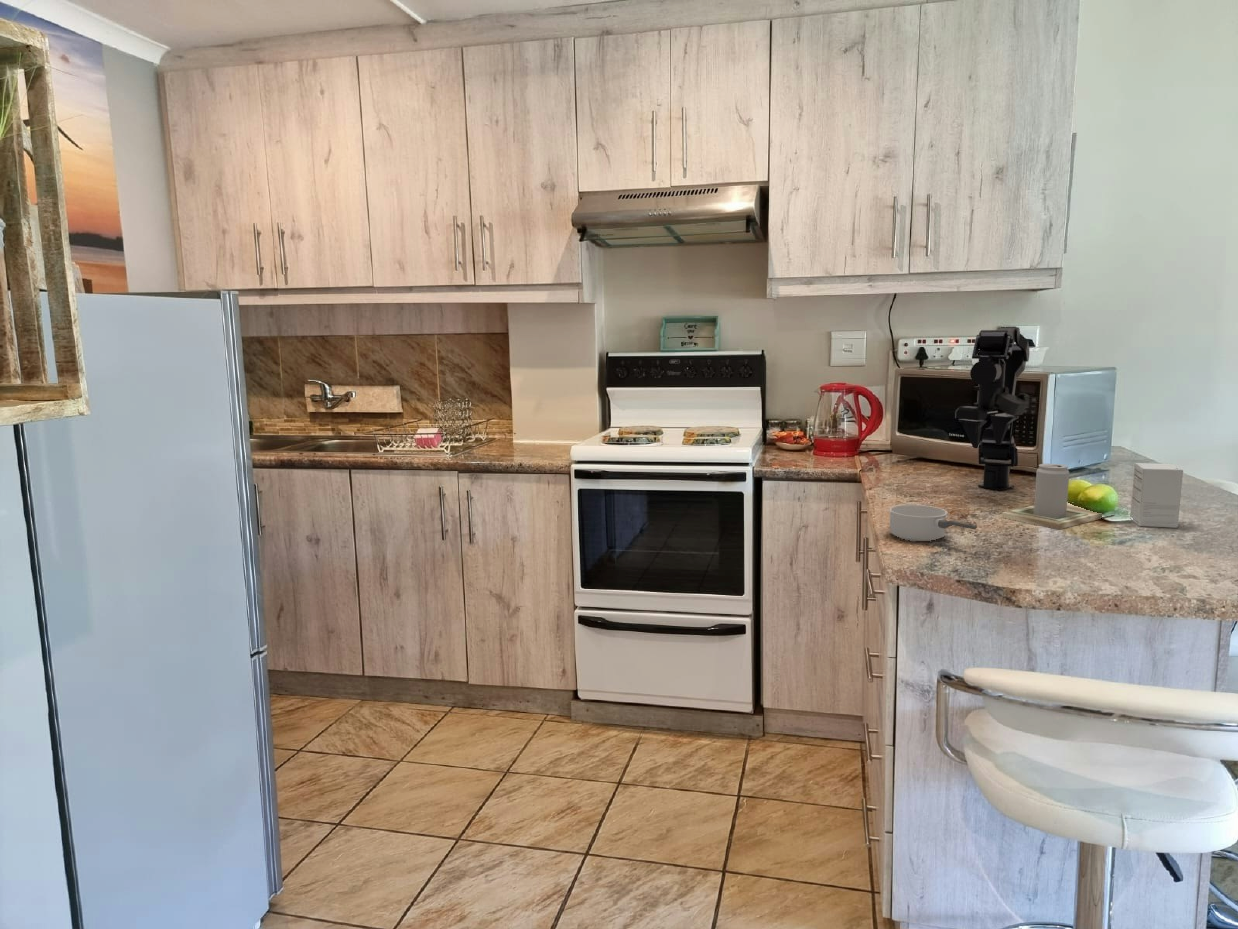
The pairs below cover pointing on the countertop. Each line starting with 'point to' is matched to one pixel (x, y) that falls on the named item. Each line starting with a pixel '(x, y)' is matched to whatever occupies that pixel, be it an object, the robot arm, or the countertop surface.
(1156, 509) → the supplement box
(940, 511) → the saucepan
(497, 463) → the countertop surface
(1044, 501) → the beverage can
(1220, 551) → the countertop surface
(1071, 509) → the board
